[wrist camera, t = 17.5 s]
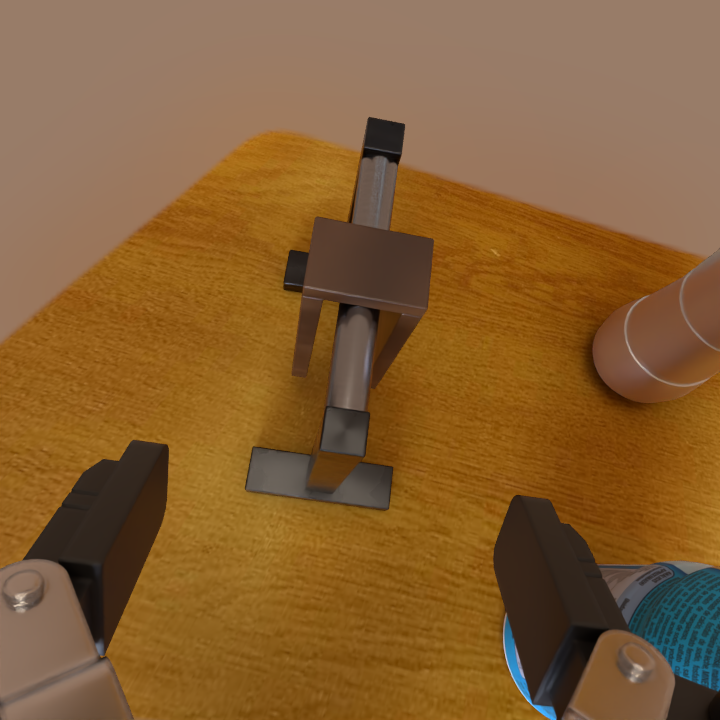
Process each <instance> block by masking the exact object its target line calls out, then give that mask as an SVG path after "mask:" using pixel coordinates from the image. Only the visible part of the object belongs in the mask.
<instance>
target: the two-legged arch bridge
mask: <svg viewBox="0 0 720 720" xmlns="http://www.w3.org/2000/svg"><path fill="white" fill-rule="evenodd" d="M433 244H434V240H433V239H431V238H425V237H420V236H415V235H410V234H405V233H399V232H394V231H389V230H384V229H379V228H373V227H368V226H363V225H358V224H353V223H347V222H342V221H337V220H332V219H327V218H321V217H316V218H315V222H314V227H313V233H312V239H311V245H310V250H309V256H308V262H307V268H306V273H305V279H304V285H303V292H302V299H301V307H300V314H299V322H298V329H297V337H296V345H295V352H294V360H293V367H292V376H298V377H304V378H306V376H307V371H308V367H309V362H310V358H311V353H312V349H313V344H314V339H315V335H316V330H317V326H318V321H319V317H320V312H321V308H322V303H323V300H329V301H335V302H340V303H346V304H352V305H357V306H363V307H368V308H374V309H380V316H379V324H378V332H377V340H376V348H375V356H374V365H373V373H372V381H371V388H372V389H375V388H376V386H377V385H378V383H379V382H380V380H381V379H382V377H383V376H384V374H385V373H386V371H387V370H388V368H389V367H390V365H391V364H392V362H393V361H394V359H395V358H396V356H397V354H398V353H399V351H400V350H401V348H402V347H403V345H404V344H405V342H406V341H407V339H408V338H409V336H410V335H411V333H412V332H413V330H414V329H415V327H416V325H417V324H418V322H419V321H420V319H421V318H422V316H423V315H424V313H425V312H426V310H427V309H428V299H429V288H430V277H431V266H432V255H433Z"/></svg>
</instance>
